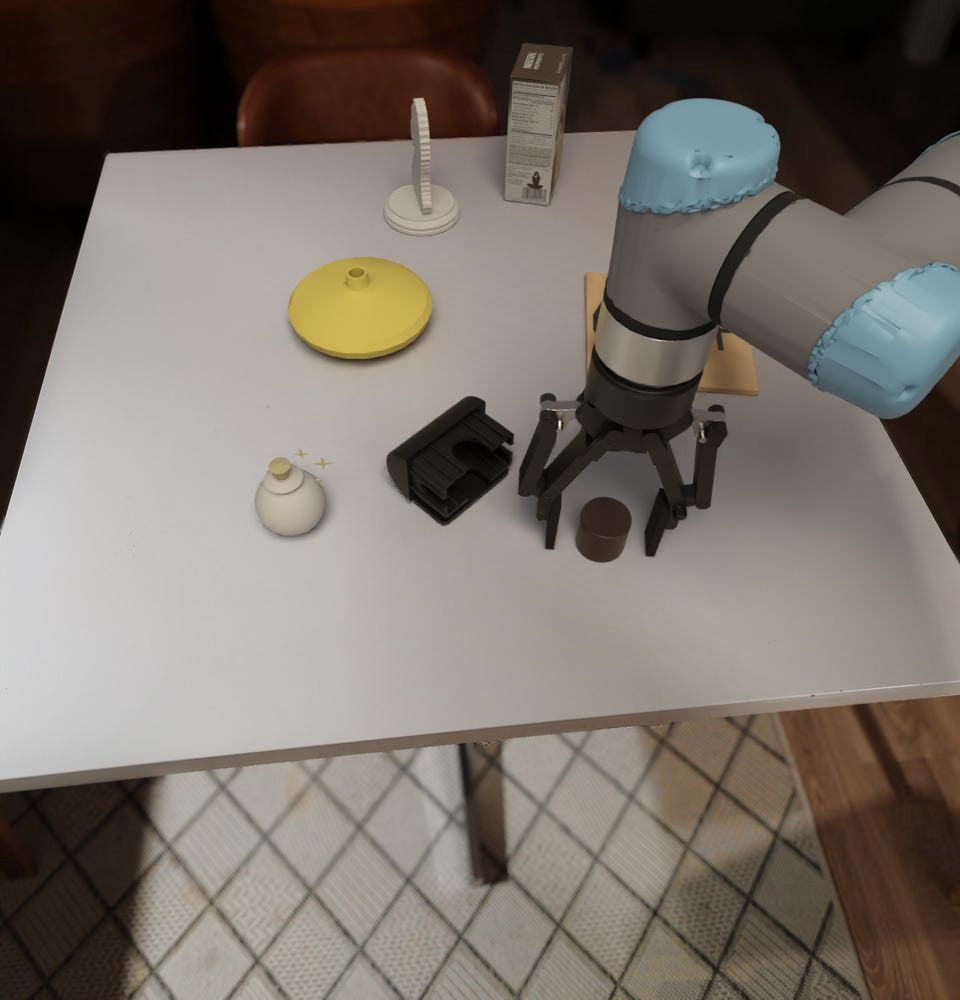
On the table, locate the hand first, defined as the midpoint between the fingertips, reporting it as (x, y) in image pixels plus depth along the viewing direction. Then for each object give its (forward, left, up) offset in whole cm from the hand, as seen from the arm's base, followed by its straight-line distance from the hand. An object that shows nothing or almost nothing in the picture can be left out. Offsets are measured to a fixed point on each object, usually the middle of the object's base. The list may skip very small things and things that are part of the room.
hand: (599, 539), depth 69 cm
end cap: (+14, -6, -1) cm, 15 cm away
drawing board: (-8, -29, 0) cm, 30 cm away
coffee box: (+8, -57, -1) cm, 57 cm away
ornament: (+27, 0, -1) cm, 27 cm away
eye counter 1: (0, 0, 0) cm, 0 cm away
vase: (+26, -27, -1) cm, 37 cm away
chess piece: (+22, -49, -1) cm, 54 cm away
